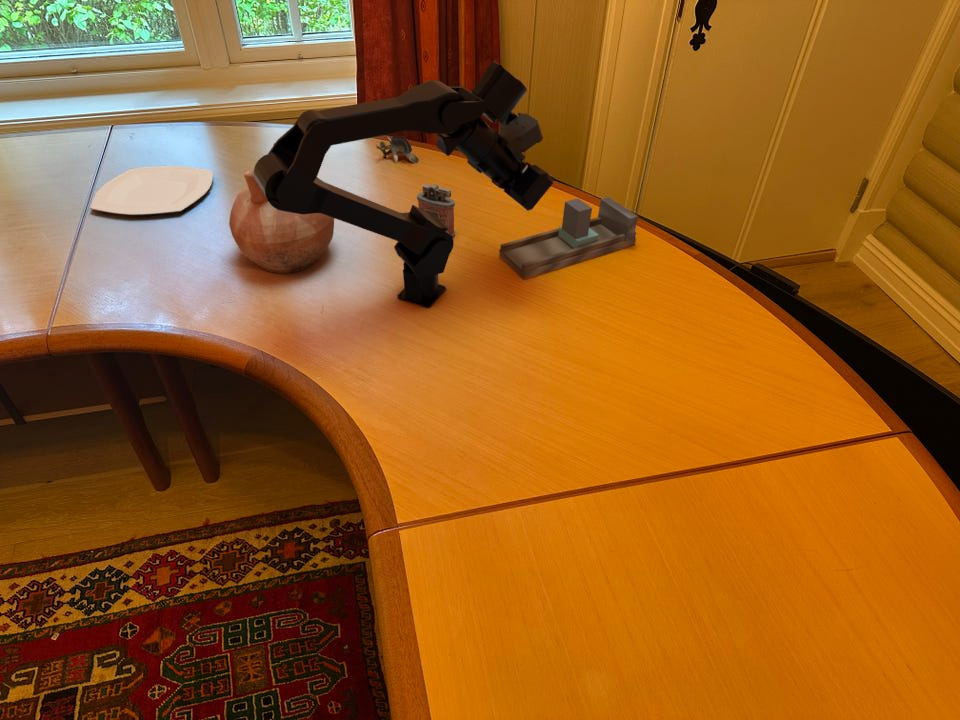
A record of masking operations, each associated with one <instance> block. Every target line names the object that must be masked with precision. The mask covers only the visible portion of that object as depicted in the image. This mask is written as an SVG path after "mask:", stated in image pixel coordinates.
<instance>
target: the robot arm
mask: <svg viewBox="0 0 960 720" xmlns="http://www.w3.org/2000/svg"><path fill="white" fill-rule="evenodd" d="M527 92H528V89H527V87H526V86H525V85H524V83H523V82H522V81H521V80H520V79H518V78H517V77H515V76H514V75H513V74H512V73H510V72H509V71H508V69H507V70H506V69H505V68H504V67H503V66H502V64H500V63H499V62H496V61H495V60H493V61H491V62H490V64H489V66H488V67H487V68H486V71H485V72H484V74H483V75H482V77H481V78H480V80H478V82H477V83H476V85H475V86H474V87H473V89H472V90H471V91H470V90H468V88H465V87H464V86H448V85H447V84H445V83H443V82H442V81H440V80H435V79H432V80H428V81H425V82H423V83H419V84H417V85H415V86H412V87H410V88H409V89H407V90H406V91H405V92H404V93H401V94H400V95H397V96H394V97H391V98H385V99H378V100H373V101H367V102H361V103H356V104H350V105H343V106H338V107H332V108H331V107H330V108H326V109H319V110H317V109H309V110H305V111H303V112H302V113H301V114H300V115H299V116H298V117H297V119H296V121H295V122H294V124H293V126H291V128H289V129H288V130H287V131H286V132H285V133H283V135H281V136H280V137H278V138H277V140H276V141H275V142H274V143H275V144H274V143H273V145H274V146H272V147H271V149H270V150H269V151H268V153H267V154H264V155H263V156H262V157H260V158H259V159H258V160H257V161H256V163H255V164H254V168H253V171H254V178H255V181H256V183H257V185H258V186H259V188H260V189H261V191H262V192H263V194H264V196H265V197H266V199H267V200H268V202H269V203H270V204H271V205H272V206H273V207H274V208H276V209H278V210H280V211H285V212H291V213H297V214H303V215H304V214H314V213H320V214H324V215H327V216H330V217H332V218H334V220H335V219H336V220H338V221H341V222H343V223H346V224H349V225H353V226H355V227H358V228H359V229H360V228H361V229H363V230H366V231H369V232H370V233H374V234H377V235H379V236H383V237H385V238H387V239H388V238H389V239H391V240H394V241H396V243H395V244H394V246H393V249H394V250H395V252H396V254H397V256H398V258H400V259H401V260H402V262H403V270H402V276H403V277H402V279H403V287H404V288H403V289H402V290H401V291H400V292H399V293H398V294H397V295H396V296H397V299H399V300H401V301H405V302H408V303H411V304H414V305H416V306H417V305H418V306H421V307H424V308H427V309H429V308H431V307H432V305H434V304H435V302H436V301H438V300H439V298H440V297H441V296H442V295H443V294H444V293H445V291H447V287H446V286H445V285H443V284H439V275H440V274H443V273H444V271H445V269H446V266H447V263H448V260H449V257H450V254H451V253H452V251H453V249H454V243H455V242H454V238H453V237H452V236H451V234H450V233H449V232H447V230H448V228H447V227H446V226H445V225H444V224H443V223H442V222H441V221H440V220H439V219H438V218H437V217H436V216H435V215H434V214H433V213H432V212H431V211H423V210H421V209H419V208H418V207H417V206H416V205H414V204H412V205H411V208H410V210H409V212H401V211H400V212H399V211H397V210H394V209H392V208H390V207H387V206H385V205H382V204H380V203H378V202H375V201H372V200H370V199H367V198H364V196H360V195H358V194H354V193H352V192H350V191H347V190H346V189H345V190H344V189H342V188H339V187H337V186H335V185H333V184H330V183H328V182H326V181H324V180H322V179H320V178H319V177H318V175H319V172H320V169H321V167H322V164H323V161H324V160H325V156H326V154H327V153H328V152H329V150H330V148H331V147H332V146H335V145H342V144H347V143H351V142H352V143H353V142H357V141H360V140H367V139H372V138H376V137H382V136H388V135H392V134H397V133H402V132H418V133H422V134H428V135H433V134H434V135H436V136H437V140H436V148H437V149H438V150H440V151H441V153H443V154H444V155H446V156H447V157H450V156H451V155H452V153H454V151H455V149H457V151H459V152H460V153H461V154H463V156H465V157H466V159H467V164H468V165H469V166H471V167H472V168H473V169H474V170H475V171H476V172H478V173H479V174H484V175H485V176H486V177H488V178H489V180H491V183H492V184H493V185H495V186H496V187H497V188H499V189H500V190H501V189H502V190H503V192H504V193H505V194H506V195H507V196H509V197H510V198H511V199H513V200H514V201H515V202H516V203H517V204H519V205H520V206H521V207H522V208H523V209H525V210H526V211H532V210H533V209H534V208H535V206H536V205H537V204H538V203H539V202H540V200H541V199H542V198H543V196H545V194H546V193H547V192H548V190H549V189H550V188H551V187H552V185H553V184H554V178H553V177H552V176H551V175H550V174H549V173H548V172H547V171H545V170H544V169H542V168H541V167H540V166H538V165H536V164H533V165H532V164H530V163H529V162H528V161H526V162H524V160H525V159H526V156H525V155H524V153H526V152H527V151H528V150H530V149H532V147H534V146H535V145H536V144H540V143H541V142H542V141H543V140H544V135H543V133H542V129H541V126H540V123H539V121H538V120H537V119H536V118H535V117H533V116H532V115H530V114H528V113H522V112H520V111H519V112H518V113H517V114H516V113H514V112H513V111H514V109H515V108H516V106H518V104H519V102H520V101H521V99H523V97H524V96H525V94H526V93H527ZM482 116H483V117H484V118H485V119H487V120H488V121H489V122H491V123H492V124H495V123H496V121H497V122H498V123H500V124H499V125H500V129H499V131H498V132H497V131H496V130H495V129H493V128H491V127H490V126H489V124H487V122H486V121H485V120H484V119H482V118H481V117H482Z"/></svg>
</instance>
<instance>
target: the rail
mask: <svg viewBox="0 0 960 720" xmlns="http://www.w3.org/2000/svg"><path fill="white" fill-rule="evenodd" d="M638 219H639V215H637V214H636V213H634V212H633V211H631V210H629V209H628V208H626V207H625V206H623V205H622V204H620V203H619V202H617V201H616V200H614V199H612V198H611V197H609V196H607V197H604V198H601V199H600V203H599V208H598V214H597V217H594V218H591V219H590V225H589V228H590V229H592V230H593V231H594V232H596V233H597V234H598V235H599V237H598V241H597V242H594V243H590V244H587V245H584V246H580V247H577V248H573V247H571V246H570V245H569V244H568V243H566V242H565V241H564V240H563V239H561V238H560V237H559V236H558V234H559V227H558V228H554V229H551V230H547V231H544V232H540V233H536V234H533V235H530V236H526V237H523V238H519V239H515V240H512V241H507V242H505V243H502V244H500V248H499V253H498V255H499V257H500V258H501V259H502V260H503V261H504V262H505V263H506V264H507V265H508V266H509V267H510V268H512V270H514V271H515V272H516V273H517V274H518V275H519V276H520V277H522V279H524V280H527V279H530V278H534V277H537V276H540V275H543V273H544V274H546V273H549V272H553V271H556V270H559V269H563V268H566V267H568V266H572V265H575V264H578V263H579V264H580V263H583V262H586V261H588V260H591V259H594V258H598V257H602V256H604V255H607V254H610V253H614V252H617V251H621V250H623V249H626V248H629V247H633V246H635V245H636V241H637V237H636V236H637V232H636V228H637V223H638ZM533 276H534V277H533Z"/></svg>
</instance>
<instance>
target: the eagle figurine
mask: <svg viewBox="0 0 960 720" xmlns="http://www.w3.org/2000/svg"><path fill="white" fill-rule="evenodd" d="M385 136H386V138H387V140H388V141H389V145H386V143H385V142H384V141H382V140H381V142H379V145H377V144H375V147H376V148H377V150H380V151H381V152H382V154H383V157H386V158H387V156H388V155H392V158H393V160H394V164H395V163H396V164H397V163H398V161H399V160H398V159H399V158H398V156H399V155H400V156H401V155H402V156H404V157H405V158H406V159H408V160H409V161H410V162H411V163H412V164H417V163H416V162H418V161H420V159H419V158H418V157H417V156H416V154H414V153H413V152H412V151H413V148H412V144H411V143H410V141H409V140H408V139H407V138H405V137H404V136H400V135H399V136H397V135H394V136H392V138H390V137H389V136H388V135H385ZM387 150H388V151H387ZM418 163H419V162H418Z"/></svg>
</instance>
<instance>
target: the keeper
mask: <svg viewBox="0 0 960 720" xmlns="http://www.w3.org/2000/svg"><path fill="white" fill-rule="evenodd" d="M592 211H593V207H591V206H590V205H589V204H588V203H585V201H583V200H581V199H580V198H578V197H577V198H573V199H571V200H566V201H564V207H563V214H562V215H563V217H562V221H561V223H562V224H561V226H559V227H558V228H559V234H558V236H559V237H560V238H561V239H563V240H564V241H565V242H566V243H568V244H569V245H570V246H571V247H573V248H577V247H580V246H584V245H587V244H590V243H594V242H597V241H598V237H599V235H598V234H597V233H596V232H594V231H593V230H592V229H590V228H589V225H590V219H592V218H591V217H592Z"/></svg>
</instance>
